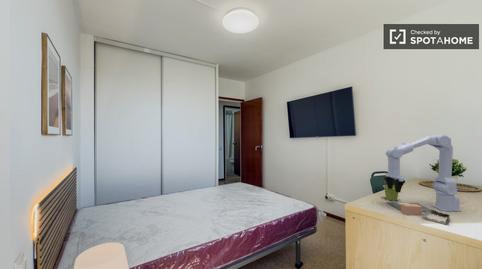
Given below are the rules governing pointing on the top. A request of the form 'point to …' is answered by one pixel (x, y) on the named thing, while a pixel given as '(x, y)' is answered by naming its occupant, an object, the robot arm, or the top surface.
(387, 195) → the plant pot
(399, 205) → the charcoal mat
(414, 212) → the terracotta card box
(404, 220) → the top surface
